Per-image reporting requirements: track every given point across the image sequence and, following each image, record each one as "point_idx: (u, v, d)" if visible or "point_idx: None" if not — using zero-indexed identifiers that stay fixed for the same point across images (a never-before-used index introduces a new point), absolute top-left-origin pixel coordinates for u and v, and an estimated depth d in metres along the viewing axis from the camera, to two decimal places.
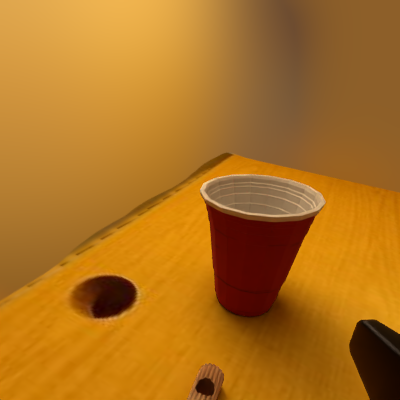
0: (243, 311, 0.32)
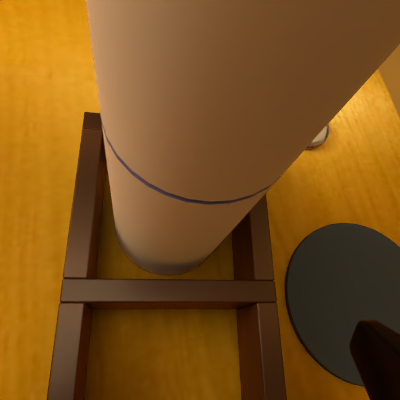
0: None
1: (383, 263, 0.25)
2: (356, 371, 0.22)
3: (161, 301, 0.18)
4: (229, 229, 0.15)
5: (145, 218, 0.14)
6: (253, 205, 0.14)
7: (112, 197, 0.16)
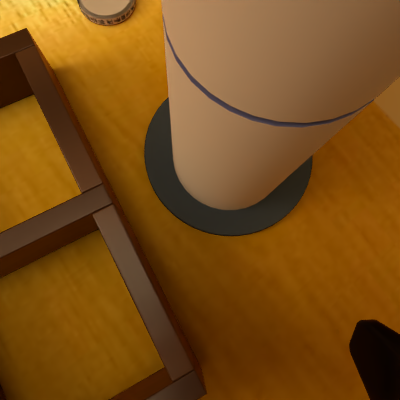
0: None
1: None
2: (245, 222, 0.21)
3: None
4: None
5: (218, 150, 0.12)
6: None
7: (175, 131, 0.15)
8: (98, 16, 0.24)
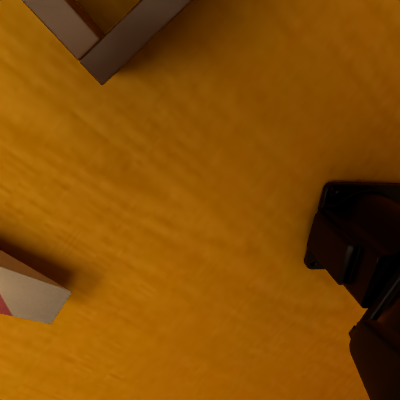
0: None
1: None
2: None
3: None
4: None
5: None
6: None
7: None
8: None
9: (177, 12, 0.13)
